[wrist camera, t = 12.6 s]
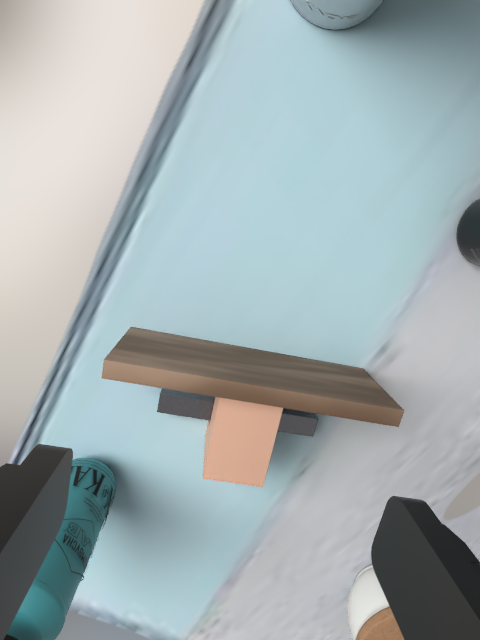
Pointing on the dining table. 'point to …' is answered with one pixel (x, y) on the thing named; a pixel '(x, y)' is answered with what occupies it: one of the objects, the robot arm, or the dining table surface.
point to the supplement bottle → (470, 233)
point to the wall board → (249, 376)
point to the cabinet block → (240, 441)
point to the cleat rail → (204, 404)
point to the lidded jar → (370, 610)
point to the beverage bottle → (66, 553)
